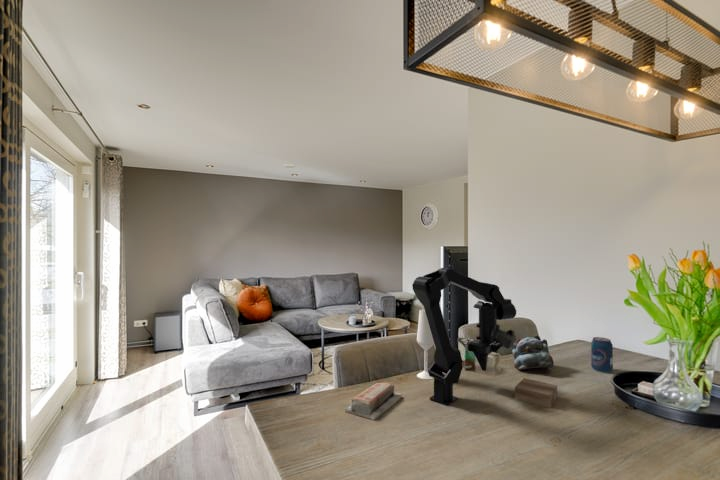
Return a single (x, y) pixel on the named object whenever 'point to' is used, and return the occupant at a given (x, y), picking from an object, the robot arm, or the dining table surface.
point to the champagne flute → (424, 341)
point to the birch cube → (490, 365)
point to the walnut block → (536, 392)
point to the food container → (466, 353)
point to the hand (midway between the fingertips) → (487, 368)
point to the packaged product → (374, 401)
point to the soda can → (602, 355)
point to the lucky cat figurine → (532, 354)
